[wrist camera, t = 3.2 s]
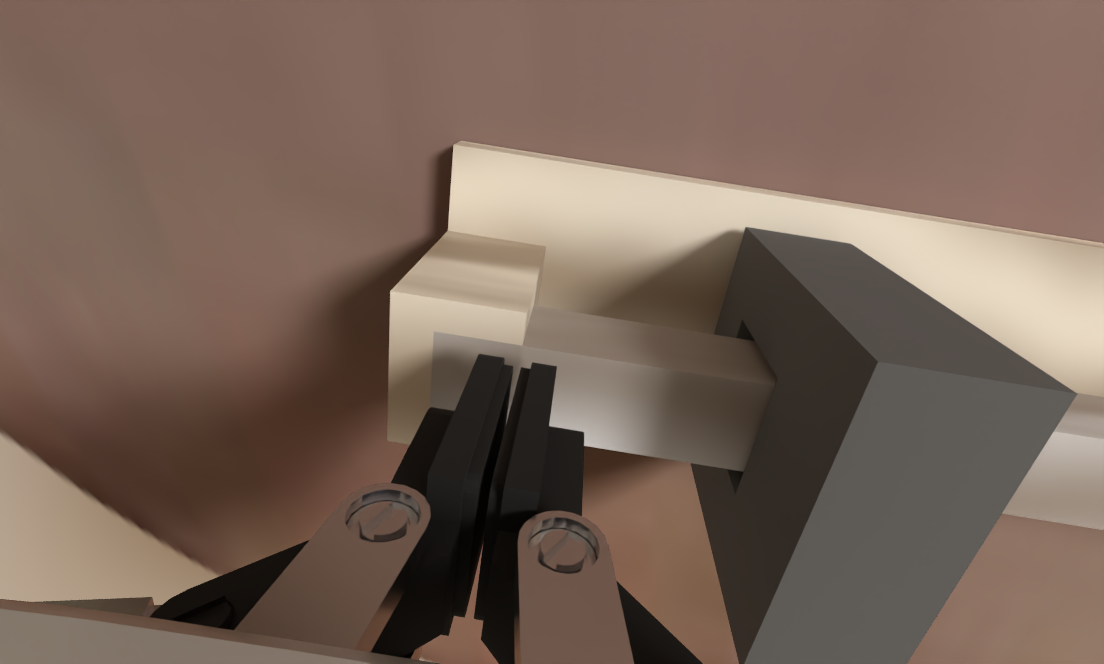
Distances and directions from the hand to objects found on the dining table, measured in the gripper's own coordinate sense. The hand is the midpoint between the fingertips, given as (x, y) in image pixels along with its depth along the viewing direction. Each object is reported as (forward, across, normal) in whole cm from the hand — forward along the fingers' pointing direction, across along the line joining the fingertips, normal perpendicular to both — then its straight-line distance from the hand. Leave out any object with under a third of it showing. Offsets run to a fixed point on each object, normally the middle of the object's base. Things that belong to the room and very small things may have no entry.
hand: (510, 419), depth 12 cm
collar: (+6, -7, 0) cm, 9 cm away
